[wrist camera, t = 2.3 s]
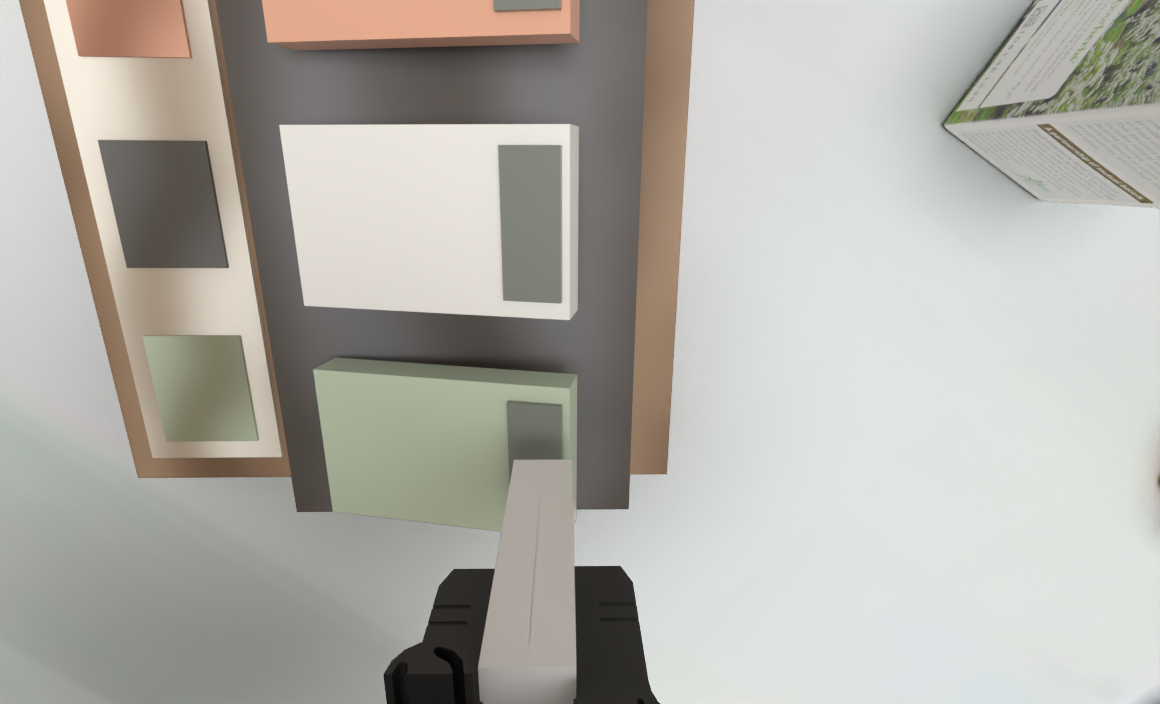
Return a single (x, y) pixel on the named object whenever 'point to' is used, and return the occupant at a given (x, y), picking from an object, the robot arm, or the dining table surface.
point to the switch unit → (266, 235)
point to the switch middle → (436, 217)
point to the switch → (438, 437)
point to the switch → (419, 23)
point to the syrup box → (1073, 103)
